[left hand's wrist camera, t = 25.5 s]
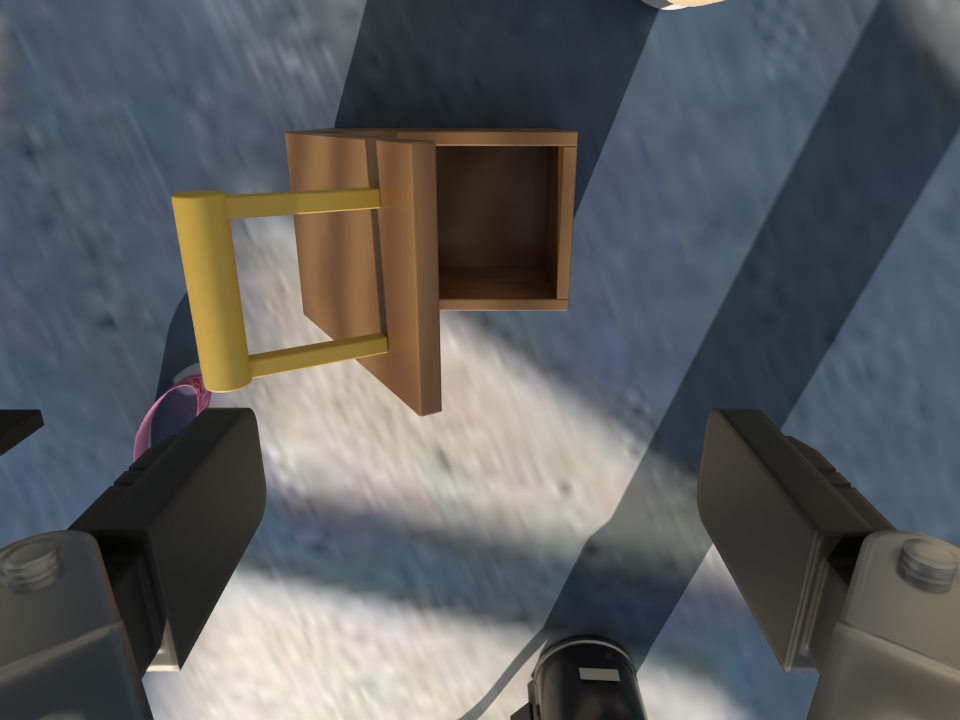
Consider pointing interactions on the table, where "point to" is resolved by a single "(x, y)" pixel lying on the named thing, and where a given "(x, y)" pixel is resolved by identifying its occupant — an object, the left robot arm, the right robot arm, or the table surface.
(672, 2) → the coffee cup
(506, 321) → the table surface
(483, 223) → the chest
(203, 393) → the pink curved piece
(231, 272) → the lid
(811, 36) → the table surface
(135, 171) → the table surface
